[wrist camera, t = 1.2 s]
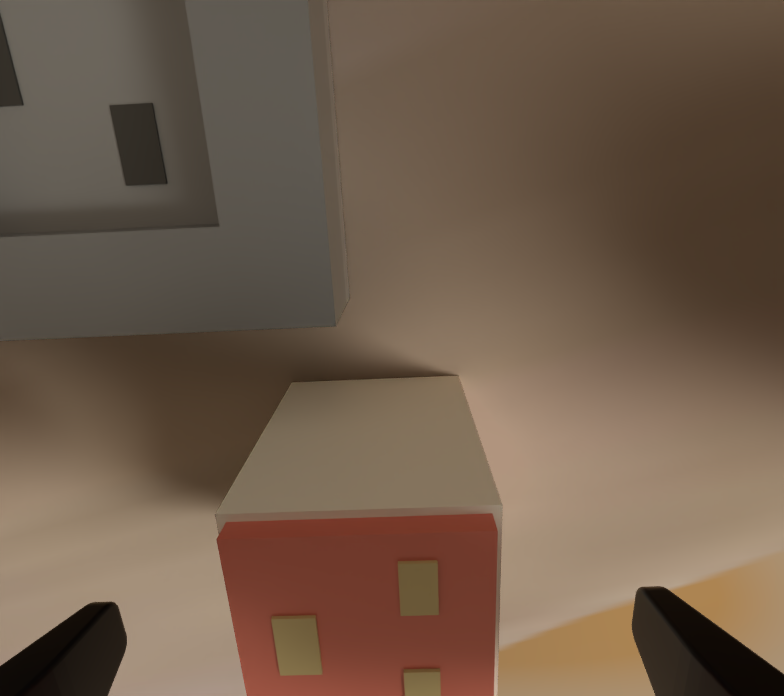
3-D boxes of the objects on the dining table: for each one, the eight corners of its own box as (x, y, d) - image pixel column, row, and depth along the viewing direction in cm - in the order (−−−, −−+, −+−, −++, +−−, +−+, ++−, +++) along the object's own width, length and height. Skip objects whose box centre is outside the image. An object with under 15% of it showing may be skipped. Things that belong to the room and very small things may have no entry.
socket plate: (304, -293, 9) (250, -577, 5) (349, 298, 12) (332, 333, 9) (-273, -248, 9) (-641, -494, 6) (-72, 316, 12) (-236, 357, 9)
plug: (458, 375, 13) (509, 524, 7) (459, 516, 14) (502, 741, 8) (292, 381, 13) (202, 534, 7) (309, 521, 14) (246, 746, 8)
